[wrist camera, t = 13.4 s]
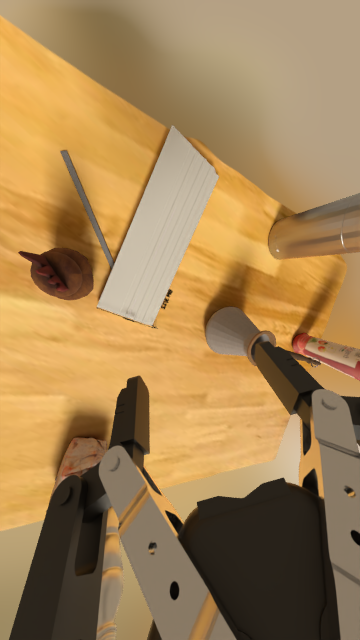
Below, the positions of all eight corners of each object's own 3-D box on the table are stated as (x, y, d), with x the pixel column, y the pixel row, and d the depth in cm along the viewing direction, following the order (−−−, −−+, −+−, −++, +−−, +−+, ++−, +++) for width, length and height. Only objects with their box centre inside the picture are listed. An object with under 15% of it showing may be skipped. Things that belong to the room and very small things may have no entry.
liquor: (290, 356, 54) (444, 427, 29) (287, 338, 51) (456, 399, 26) (305, 345, 55) (465, 403, 30) (304, 326, 53) (478, 374, 27)
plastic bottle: (95, 504, 40) (80, 689, 22) (89, 485, 38) (67, 672, 20) (123, 490, 42) (129, 650, 24) (118, 472, 40) (122, 631, 22)
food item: (69, 431, 34) (53, 488, 25) (110, 431, 37) (109, 480, 28) (52, 486, 35) (31, 557, 26) (93, 480, 38) (86, 542, 30)
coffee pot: (193, 344, 39) (235, 381, 26) (209, 298, 38) (263, 311, 24) (255, 357, 48) (310, 389, 34) (270, 320, 46) (334, 339, 33)
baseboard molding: (221, 184, 32) (169, 132, 27) (231, 176, 30) (175, 117, 24) (157, 327, 35) (97, 305, 29) (160, 331, 32) (95, 308, 27)
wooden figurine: (48, 253, 25) (-27, 229, 12) (90, 252, 27) (66, 230, 14) (60, 297, 27) (8, 319, 14) (98, 293, 29) (85, 309, 16)
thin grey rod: (66, 151, 23) (66, 150, 23) (122, 282, 30) (122, 282, 30) (60, 152, 23) (60, 151, 23) (117, 283, 30) (117, 283, 30)
